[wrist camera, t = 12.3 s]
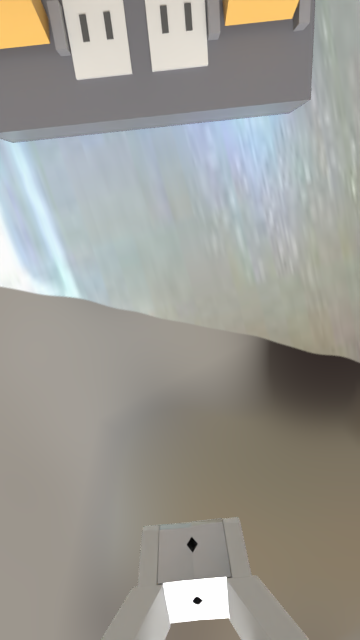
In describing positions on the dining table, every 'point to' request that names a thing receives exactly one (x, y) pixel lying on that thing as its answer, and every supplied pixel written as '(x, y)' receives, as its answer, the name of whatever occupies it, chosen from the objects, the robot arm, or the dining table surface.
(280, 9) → the switch
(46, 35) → the switch
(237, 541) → the robot arm
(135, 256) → the dining table surface
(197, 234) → the dining table surface
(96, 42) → the power box
